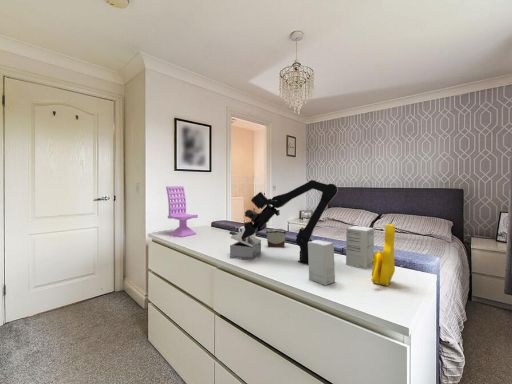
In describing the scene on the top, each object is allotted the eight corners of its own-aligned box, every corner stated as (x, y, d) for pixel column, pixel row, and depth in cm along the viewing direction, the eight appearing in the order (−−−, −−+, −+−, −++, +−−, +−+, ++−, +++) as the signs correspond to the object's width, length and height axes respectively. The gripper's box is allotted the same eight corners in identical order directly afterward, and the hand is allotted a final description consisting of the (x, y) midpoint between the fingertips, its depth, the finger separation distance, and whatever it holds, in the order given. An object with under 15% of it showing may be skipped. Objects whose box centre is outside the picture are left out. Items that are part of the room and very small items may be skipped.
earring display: (181, 237, 173) (181, 186, 172) (165, 234, 182) (165, 186, 181) (197, 234, 185) (197, 186, 184) (181, 231, 195) (181, 186, 194)
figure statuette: (375, 273, 103) (376, 220, 103) (397, 278, 99) (398, 221, 98) (366, 288, 89) (366, 226, 88) (391, 294, 84) (392, 228, 84)
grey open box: (260, 253, 133) (260, 242, 133) (252, 260, 122) (252, 247, 122) (240, 251, 137) (240, 240, 137) (230, 257, 126) (230, 245, 126)
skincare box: (335, 282, 94) (335, 242, 94) (324, 286, 91) (324, 244, 90) (317, 275, 101) (318, 238, 101) (307, 279, 97) (307, 240, 97)
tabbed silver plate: (260, 241, 133) (261, 237, 133) (252, 247, 122) (253, 242, 121) (235, 231, 138) (236, 227, 138) (224, 235, 127) (226, 230, 126)
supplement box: (354, 260, 122) (354, 225, 121) (374, 264, 116) (374, 227, 115) (345, 264, 115) (345, 227, 115) (366, 269, 109) (366, 230, 108)
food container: (286, 245, 152) (286, 228, 152) (286, 247, 146) (286, 230, 145) (266, 244, 153) (266, 228, 153) (265, 247, 147) (265, 230, 147)
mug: (257, 242, 160) (257, 226, 160) (254, 245, 151) (254, 228, 151) (240, 241, 162) (240, 225, 161) (236, 244, 153) (236, 227, 153)
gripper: (260, 202, 136) (242, 223, 140) (247, 205, 118) (226, 228, 122) (274, 217, 133) (255, 237, 137) (263, 222, 116) (242, 245, 120)
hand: (245, 236), depth 129 cm, fingers open, 9 cm apart
